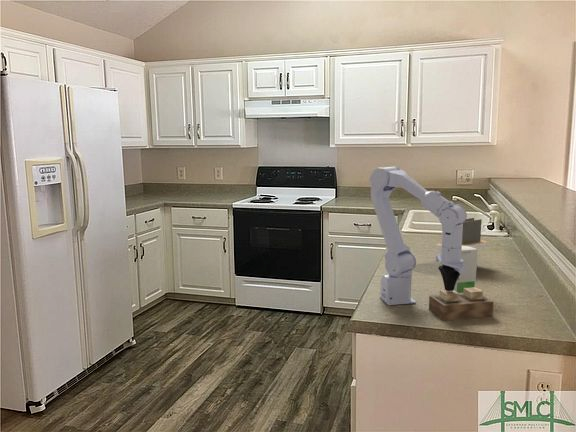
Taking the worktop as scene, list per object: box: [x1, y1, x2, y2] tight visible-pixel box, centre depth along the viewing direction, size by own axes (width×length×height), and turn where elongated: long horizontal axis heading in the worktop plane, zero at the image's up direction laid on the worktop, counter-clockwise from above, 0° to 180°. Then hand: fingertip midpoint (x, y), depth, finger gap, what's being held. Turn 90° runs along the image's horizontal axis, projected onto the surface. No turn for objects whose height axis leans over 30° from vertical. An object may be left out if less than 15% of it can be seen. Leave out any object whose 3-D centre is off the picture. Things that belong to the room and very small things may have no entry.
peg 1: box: [438, 289, 459, 302], centre depth 145 cm, size 4×4×4 cm
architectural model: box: [435, 217, 488, 266], centre depth 192 cm, size 38×25×20 cm, turn 120°
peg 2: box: [463, 286, 484, 300], centre depth 146 cm, size 4×4×4 cm
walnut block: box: [428, 293, 494, 321], centre depth 146 cm, size 16×9×5 cm, turn 101°
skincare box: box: [454, 246, 479, 293], centre depth 164 cm, size 8×7×16 cm
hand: (449, 290), depth 144 cm, fingers closed
